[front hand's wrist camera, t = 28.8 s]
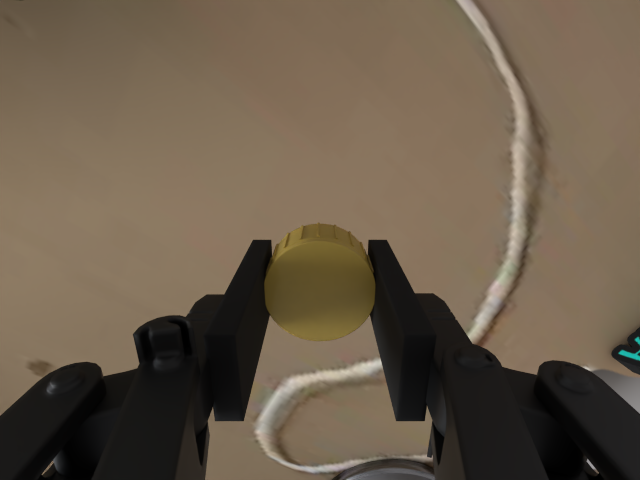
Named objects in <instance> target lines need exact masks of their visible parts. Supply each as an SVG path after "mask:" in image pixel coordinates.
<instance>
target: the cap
mask: <svg viewBox="0 0 640 480" xmlns="http://www.w3.org/2000/svg"><path fill="white" fill-rule="evenodd" d="M373 273H374V270H373V267H372V264H371V261H370V258H369V255H367V254H366V252H365V250H364V247H363V244H362V242H359V241H358V240H357V239H356V238H355V237H354V236H353V235H352V234H351V232H350V231H349V232H347V231H346V230H344V229H342V228H339V227H337V226H336V225H334V226H333V225H328V224H320V223H317V224H311V225H307V226H303V225H302V226H301V227H300V228H298V229H296V230H294V231H292V232H291V233H287V235H286V236H285V237H284V238H283V239H282V240H281V242H280V243H279V244H276V247H275V250H274V253H273V256H272V257H271V259H270V262H269V265H268V268H267V271H266V277H265V280H264V289H265V304H266V308H267V310H268V312H269V314H270V315H271V317H272V318H273V320H274V321H275V322H276V323H277V324H278V325H279V326H280V327H281V328H282V329H284V330H285V331H287V332H288V333H290V334H292V335H294V336H296V337H299V338H302V339H306V340H312V341H328V340H334V339H338V338H341V337H343V336H346V335H348V334H350V333H351V332H353V331H355V330H356V329H357V328H358V327H360V326H361V325H362V324H363V323H364V322H365V320H366V319H367V318H368V316H369V315H370V313H371V311H372V309H373V306H374V301H375V285H376V283H375V278H374V275H373Z"/></svg>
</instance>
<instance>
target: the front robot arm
mask: <svg viewBox="0 0 640 480" xmlns="http://www.w3.org/2000/svg"><path fill="white" fill-rule="evenodd" d="M368 255H369V258H370V261H371V264H372V267H373V270H374V273H373V275H374V278H375V283H376V285H375V301H374V306H373V309H372V311H371V313H370V317H371V321H372V325H373V329H374V333H375V337H376V341H377V345H378V349H379V353H380V358H381V362H382V366H383V370H384V374H385V378H386V382H387V386H388V390H389V394H390V398H391V402H392V406H393V410H394V414H395V418H396V421H425V415H426V407H427V406H428V409H429V412H430V415H431V417H432V420H433V421H432V427H431V434H430V441H429V447H428V454H427V457H430V458H432V455H433V465H434V469H433V468H431V467H429V466H426V465H424V464H420V463H417V462H412V461H406V460H379V461H372V462H368V463H364V464H360V465H358V466H355V467H352V468H350V469H348V470H346V471H344V472H342V473H341V474H339V475H338V476H336V477H335V478H333V479H332V480H640V414H639V413H638V412H637V411H636V410H635V409H634V408H633V407H632V406H631V405H629V404H628V403H627V402H626V401H625V400H624V399H623V398H622V397H621V396H619V395H618V394H617V393H616V392H615V391H614V390H613V389H612V388H611V387H610V386H608V385H607V384H606V383H605V382H604V381H603V380H602V379H600V378H599V377H598V376H596V375H595V374H593V373H592V372H591V371H588V370H586V369H584V368H582V367H580V366H578V365H575V364H573V363H572V364H571V363H568V362H565V361H555V360H552V361H547V362H544V363H543V364H541V365H540V366H539V369H538V373H537V375H534V374H530V373H525V372H520V371H516V370H511V369H508V368H504V367H502V366H501V363H500V362H499V360H498V359H497V358H496V356H495V355H493V354H492V353H491V352H489V351H488V350H487V349H484V348H482V347H480V346H478V345H474V344H472V342H471V341H470V339H469V338H468V336H467V335H466V333H465V332H464V330H463V329H462V327H461V326H460V324H459V323H458V321H457V320H456V319H455V317H454V315H453V314H452V312H450V309H449V307H448V306H447V304H446V303H445V301H443V300H442V299H440V298H439V297H438V296H436V295H435V294H433V293H414V291H413V289H412V287H411V285H410V283H409V281H408V280H407V278H406V276H405V274H404V272H403V270H402V268H401V266H400V264H399V262H398V261H397V259H396V257H395V255H394V253H393V251H392V249H391V247H390V245H389V243H388V242H387V240H369V242H368ZM271 257H272V246H271V240H253V241H252V243H251V245H250V247H249V249H248V251H247V253H246V254H245V256H244V258H243V260H242V262H241V264H240V266H239V268H238V270H237V272H236V273H235V275H234V277H233V279H232V281H231V283H230V285H229V287H228V289H227V291H226V292H225V294H224V295H205V296H204V297H203V298H201V299H200V300H198V301H197V302H195V304H194V305H193V307H192V309H191V310H190V313H188V315H187V316H186V317H183V316H180V315H177V316H165V317H160V318H156V319H154V320H151V321H149V322H147V323H145V324H144V325H142V326H140V327H139V328H138V329H137V330H136V331H135V333H134V334H133V336H134V341H135V345H136V350H137V354H138V359H139V363H140V364H139V366H138V368H137V369H134V370H130V371H126V372H122V373H117V374H112V375H108V376H103V374H102V370H101V368H100V367H99V366H98V365H97V364H96V363H90V362H81V363H74V364H70V365H66V366H64V367H61V368H59V369H57V370H55V371H53V372H51V373H49V374H48V375H46V376H45V377H43V378H42V379H41V380H39V381H38V382H37V383H36V384H35V385H34V386H33V387H31V388H30V389H29V390H28V391H27V392H26V393H25V394H24V395H23V396H22V397H21V398H19V399H18V400H17V401H16V402H15V403H14V404H13V405H12V406H11V407H10V408H8V409H7V410H6V411H5V412H4V413H3V414H2V415H1V416H0V480H205V475H206V465H207V456H208V446H209V437H210V434H209V427H208V418H209V416H210V413H211V410H212V407H213V409H214V416H215V421H244V417H245V413H246V409H247V405H248V401H249V397H250V393H251V389H252V385H253V381H254V377H255V373H256V369H257V365H258V361H259V357H260V353H261V349H262V345H263V340H264V336H265V332H266V328H267V324H268V320H269V316H270V314H269V312H268V310H267V308H266V304H265V289H264V280H265V277H266V271H267V268H268V265H269V262H270V259H271ZM587 458H588V460H589V461H590V462H591V463H592V464H593V466H594V467H595V468H596V469H597V471H598V472H599V474H597V473H596V472H595V471H594V470H593V469H592V468H591V467H590V465H589V464H588V463H587V462H586V461H587ZM52 460H53V462H54V463H53V464H52V466H51V467H50V468H49V469H48V470H47V471H46V472H45V473H44V474H43V475H41V474H42V473H43V472H44V470H45V469H46V468H47V467H48V465H49V464H50V463H51V462H52Z"/></svg>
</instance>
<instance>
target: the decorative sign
mask: <svg viewBox="0 0 640 480" xmlns="http://www.w3.org/2000/svg"><path fill="white" fill-rule="evenodd" d="M627 341H628V343H629V344H630V345H631V346H632V347H630V346H627V345H619V346H617V347H616V348H615V349H614V350H613V351H612V357H613V358H615V359H616V360H617V361H619V362H620V363H621V364H623V365H624V366H625V367H627V368H628V369H630V370H631V371H632V372H634V373H637V374H639V375H640V328H638V329H637V330H636V332H634V333H632V334H631V335H630V336H629V337H628V340H627Z"/></svg>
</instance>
